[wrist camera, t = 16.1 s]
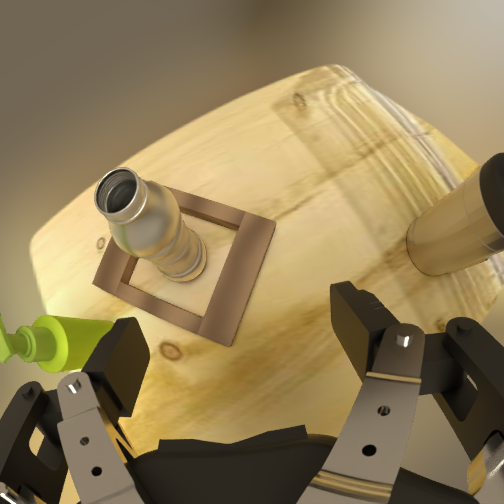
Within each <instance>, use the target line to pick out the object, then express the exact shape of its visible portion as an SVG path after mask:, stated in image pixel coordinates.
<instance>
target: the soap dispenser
mask: <svg viewBox="0 0 504 504" xmlns="http://www.w3.org/2000/svg"><path fill="white" fill-rule="evenodd" d="M113 325H114V323H113V322H110V321H101V320H89V319H79V318H69V317H60V316H51V315H43V316H40V317H39V318H38V319H36V320H35V322H34V324H33V325H32V326H21V327H19V328H18V329H17V331H16V334H7V333H6V330H5V327H4V325H3V322H2V319H1V315H0V361H1V363H6V362H7V361H8V360H9V359H10V358H11V357H12V356H13V355H14V354H18V356H19V357H20V358H21V359H22V360H23V361H24V362H37V364H38V365H39V366H40V367H41V368H42V369H43V370H45V371H47V372H49V373H57V372H64V371H70V370H76V369H81V368H83V367H84V365H85V363H86V362H87V360H88V358H89V357H90V355H91V353H93V350H94V348H95V347H96V345H97V344H98V342H99V340H100V339H101V338H102V337H103V336H104V335H105V334H106V333H107V332H108V331H110V330H111V328H112V327H113Z"/></svg>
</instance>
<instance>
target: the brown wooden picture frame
mask: <svg viewBox="0 0 504 504" xmlns="http://www.w3.org/2000/svg"><path fill="white" fill-rule="evenodd" d="M143 181H146V180H143ZM162 186H163V185H162ZM164 187H166V186H164ZM166 188H167V189H168V190H169V191H171V193H172V194H173V195H174V197H175V199H176V201H177V203H178V206H179V209H180V212H183V213H186V214H189V215H192V216H195V217H198V218H201V219H204V220H207V221H210V222H212V223H215V224H218V225H221V226H224V227H227V228H230V229H233V230H236V231H238V232H237V235H236V237H235V239H234V242H233V244H232V247H231V249H230V252H229V254H228V257H227V259H226V262H225V264H224V267H223V270H222V272H221V275H220V277H219V280H218V282H217V285H216V287H215V290H214V292H213V295H212V298H211V300H210V303H209V305H208V308H207V310H206V313H205V316H204V318H203V317H201V316H198V315H196V314H193V313H191V312H189V311H186V310H184V309H182V308H179V307H177V306H175V305H172V304H170V303H168V302H165V301H163V300H161V299H159V298H156V297H154V296H152V295H150V294H148V293H145V292H143V291H141V290H139V289H137V288H135V287H133V286H131V285H128V283H129V280H130V278H131V275H132V273H133V270H134V268H135V265H136V263H137V261H138V258H139V257H135V256H133V255H130V254H128V253H126V252H124V251H123V250H122V249H120V247H119V246H118V245H117V244H116V242H115V241H114V239H113V237H111V239H110V241H109V244H108V246H107V248H106V251H105V253H104V255H103V258H102V260H101V263H100V265H99V267H98V270H97V272H96V275H95V278H94V280H93V283H92V284H94V285H95V286H97V287H99V288H101V289H103V290H105V291H106V292H108V293H110V294H112V295H114V296H116V297H118V298H120V299H122V300H124V301H126V302H128V303H130V304H132V305H134V306H136V307H138V308H140V309H142V310H144V311H146V312H148V313H150V314H153V315H155V316H157V317H159V318H161V319H163V320H166V321H168V322H170V323H172V324H174V325H177V326H179V327H181V328H184V329H186V330H188V331H191V332H193V333H195V334H198V335H200V336H203V337H205V338H207V339H210V340H212V341H215V342H217V343H220V344H222V345H225V346H228V347H230V346H231V345H232V343H233V340H234V338H235V335H236V332H237V330H238V327H239V324H240V322H241V319H242V317H243V314H244V311H245V309H246V306H247V303H248V301H249V298H250V295H251V293H252V290H253V287H254V285H255V282H256V279H257V277H258V274H259V271H260V269H261V266H262V263H263V260H264V258H265V255H266V252H267V250H268V247H269V244H270V241H271V239H272V236H273V233H274V230H275V227H276V222H275V221H272V220H269V219H266V218H263V217H260V216H257V215H254V214H251V213H248V212H245V211H242V210H239V209H236V208H233V207H230V206H227V205H224V204H221V203H218V202H215V201H211V200H208V199H205V198H202V197H199V196H196V195H192V194H189V193H186V192H183V191H179V190H176V189H173V188H169V187H166Z"/></svg>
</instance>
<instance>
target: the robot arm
mask: <svg viewBox="0 0 504 504" xmlns="http://www.w3.org/2000/svg"><path fill="white" fill-rule="evenodd" d="M407 248H408V252H409V255H410V257H411V260H412V261H413V263H414V264H415V266H416V267H417V268H418V269H419V270H420V271H422V272H423V273H425V274H427V275H430V276H438V275H441V274H444V273H448V274H451V273H454V272H457V271H459V270H462V269H465V268H468V267H471V266H473V265H476V264H479V263H481V262H484V261H487V260H488V259H489V256H492V255H494V254H497V253H499V252H502V251H504V153H498V154H496V155H494V156H493V157H492V158H490V159H489V160H488V161H487V162H486V163H485V164H484V165H482V166H481V167H480V168H479V169H478V170H477V171H476V172H474V173H473V174H472V175H471V176H470V177H469V178H467V179H466V180H465V181H464V182H463V183H461V184H460V185H459V186H458V187H457V188H455V189H454V190H453V191H452V192H450V193H449V194H448V195H447V196H445V197H444V198H443V199H442V200H440V201H439V202H438V203H437V204H435V205H434V206H433V207H432V208H430V209H429V210H428V211H426V212H425V213H424V214H422V215H421V216H420V217H418V218H417V219H416V220H415V221H414V222H413V223H412V224H411V225H410V227H409V229H408V233H407ZM330 303H331V322H332V327H333V330H334V332H335V334H336V336H337V338H338V339H339V341H340V343H341V345H342V346H343V348H344V350H345V352H346V354H347V355H348V357H349V359H350V361H351V363H352V365H353V366H354V368H355V370H356V372H357V374H358V376H359V377H360V379H361V381H362V383H363V384H362V386H361V389H360V391H359V393H358V396H357V398H356V400H355V403H354V405H353V407H352V410H351V412H350V414H349V416H348V418H347V420H346V423H345V425H344V427H343V429H342V431H341V433H340V435H339V437H338V438H336V437H333V436H328V435H320V434H307V432H306V428H305V424H304V425H300V426H295V427H290V428H285V429H279V430H274V431H268V432H265V433H262V434H259V435H256V436H254V437H251V438H248V439H245V440H242V441H239V442H235V443H232V444H223V443H215V442H208V441H201V440H195V439H174V440H161V439H160V440H159V445H158V449H157V450H153V451H150V452H147V453H144V454H142V455H140V456H138V454H137V452H136V451H135V449H134V447H133V446H132V444H131V442H130V441H129V439H128V437H127V435H126V433H125V432H124V430H123V428H122V426H121V425H120V423H119V422H118V420H119V417H131V416H132V413H133V409H134V406H135V403H136V400H137V397H138V394H139V391H140V388H141V384H142V381H143V378H144V375H145V373H146V370H147V367H148V364H149V361H150V352H149V348H148V345H147V343H146V340H145V338H144V335H143V333H142V330H141V328H140V325H139V323H138V321H137V319H136V318H135V317H128V318H120V319H117V320H116V322H115V323H114V325H113V327H112V328H111V330H110V331H108V332H107V333H106V334H105V335H104V336H103V337H102V338H101V339H100V340H99V342H98V344H97V345H96V347H95V348H94V350H93V353H91V355H90V357H89V358H88V360H87V362H86V363H85V365H84V367H83V369H82V370H81V372H74V373H71V374H69V375H67V376H65V377H64V378H63V379H62V380H61V381H60V383H59V384H58V386H57V389H55V390H50V391H45V390H44V389H43V388H42V386H41V385H40V383H38V382H36V381H32V382H28V383H26V384H24V385H23V386H21V387H20V388H19V389H18V391H17V392H16V394H15V395H14V397H13V399H12V401H11V402H10V404H9V405H8V407H7V409H6V410H5V412H4V414H3V416H2V418H1V419H0V504H59V501H60V497H61V493H62V490H63V486H64V482H65V479H66V475H67V472H68V468H69V470H70V473H71V476H72V479H73V482H74V485H75V487H76V490H77V493H78V495H79V498H80V500H81V501H80V502H78V503H77V504H504V347H503V346H502V345H501V344H500V343H499V342H498V341H497V340H496V339H495V338H494V337H493V336H492V335H491V334H490V333H489V332H487V331H486V330H485V329H484V328H483V327H482V326H481V325H480V324H479V323H478V322H476V321H475V320H473V319H470V318H467V317H457V318H453V319H451V320H450V321H449V322H448V323H447V325H446V329H445V332H443V333H435V334H424V332H423V330H422V329H421V328H419V327H418V326H415V325H413V324H408V323H400V322H399V321H398V320H397V319H396V318H395V317H394V316H393V314H392V313H391V312H390V311H389V310H388V309H387V308H386V307H384V305H383V304H382V303H381V302H379V300H378V299H377V298H376V297H375V296H374V294H372V293H370V292H368V291H365V290H357V289H356V288H355V286H354V285H353V284H352V283H351V282H350V281H344V282H339V283H335V284H331V286H330ZM467 375H469V376H470V377H471V379H472V380H473V381H474V382H475V384H476V386H477V390H478V391H477V390H476V389H475V387H474V386H473V384H472V383H471V382H470V381H469V379H468V378H467ZM425 394H432V395H433V397H434V398H435V400H436V401H437V403H438V405H439V406H440V408H441V410H442V411H443V413H444V415H445V416H446V418H447V420H448V421H449V423H450V425H451V426H452V428H453V430H454V432H455V433H456V435H457V437H458V439H459V440H460V442H461V444H462V446H463V447H464V449H465V451H466V453H467V455H468V456H469V458H470V460H471V463H470V465H469V467H468V470H467V479H468V487H469V493H467V492H465V491H462V490H459V489H456V488H453V487H450V486H447V485H444V484H441V483H439V482H436V481H433V480H431V479H428V478H426V477H423V476H420V475H418V474H416V473H413V472H411V471H408V470H406V469H404V468H401V467H400V465H401V462H402V459H403V455H404V452H405V449H406V446H407V442H408V438H409V435H410V431H411V427H412V423H413V419H414V414H415V410H416V406H417V400H418V396H419V395H425ZM35 427H37V428H38V429H39V430H40V431H41V433H42V434H43V435H44V439H43V441H42V444H41V446H40V449H39V451H38V454H37V456H35V455H34V454H33V453H32V452H31V450H30V447H29V440H30V438H31V436H32V433H33V431H34V429H35Z"/></svg>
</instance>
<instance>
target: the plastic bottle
mask: <svg viewBox="0 0 504 504" xmlns="http://www.w3.org/2000/svg"><path fill="white" fill-rule="evenodd" d="M94 201H95V205H96V207H97V209H98V210H99V211H100V213H102V214H103V215H104V216H105V217H106V219H107V220H108V223H109V229H110V233H111V235H112V237H113V239H114V241H115V242H116V244H117V245H118V246H119V247H120V249H122V250H123V251H124V252H126V253H128V254H130V255H133V256H135V257H139V258H143V259H147V260H149V261H151V262H153V263H154V264H155V265H156V266H157V268H158V269H159V271H160V272H161V273H162V274H163V275H164V276H165V277H167V278H168V279H170V280H173V281H178V282H183V281H189V280H192V279H194V278H195V277H197V276H198V275H199V274H200V273H201V272H202V270H203V268H204V266H205V263H206V249H205V245H204V243H203V241H202V239H201V238H200V236H199V235H197V234H196V233H195V232H194V231H193V230H191V229H189V228H188V227H187V226H186V225H185V223H184V221H183V219H182V215H181V212H180V209H179V206H178V203H177V201H176V199H175V197H174V195H173V194H172V193H171V191H169V190H168V189H167V188H166V187H164V186H162V185H160V184H158V183H156V182H153V181H143V180H142V179H141V178H140V177H138V175H137V174H136V173H135V172H134V171H132V170H131V169H129V168H126V167H119V168H115V169H113V170H111V171H109V172H108V173H107V174H105V175H104V176H103V177H102V179H101V180H100V181H99V183H98V185H97V187H96V190H95V195H94Z"/></svg>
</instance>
